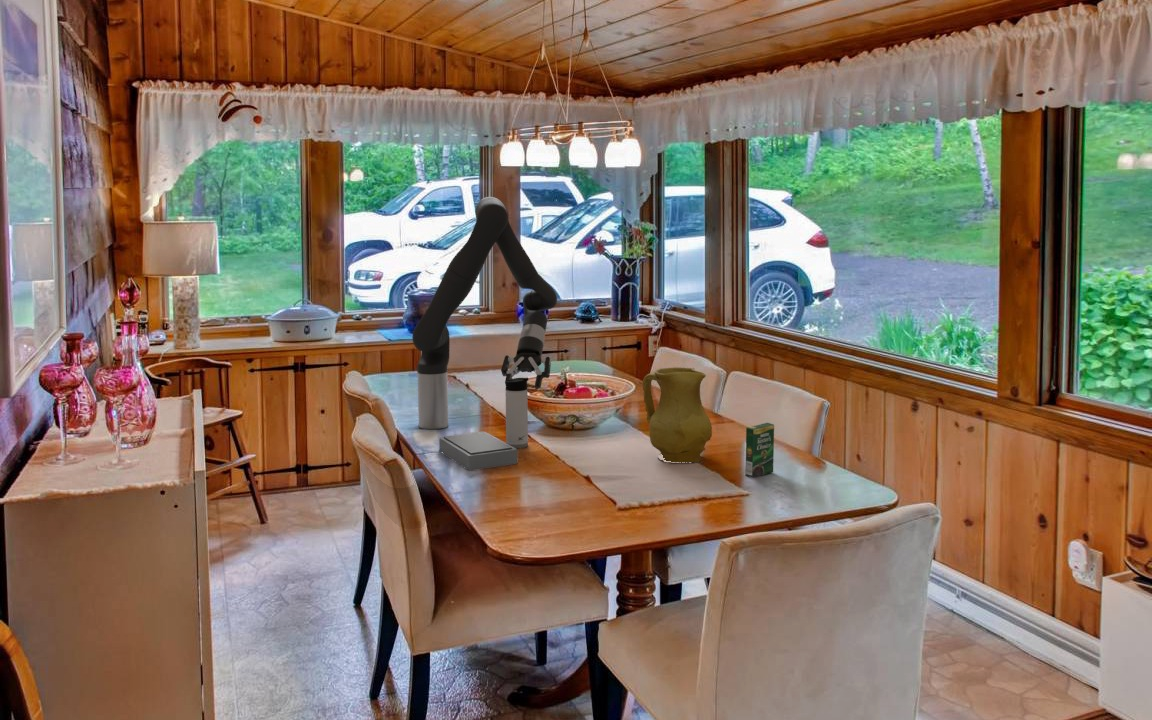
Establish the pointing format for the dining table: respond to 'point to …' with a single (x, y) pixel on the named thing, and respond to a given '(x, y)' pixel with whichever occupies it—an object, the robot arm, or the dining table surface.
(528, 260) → the robot arm
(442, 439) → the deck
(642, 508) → the dining table surface
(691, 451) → the pitcher
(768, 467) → the coffee box
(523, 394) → the travel mug
